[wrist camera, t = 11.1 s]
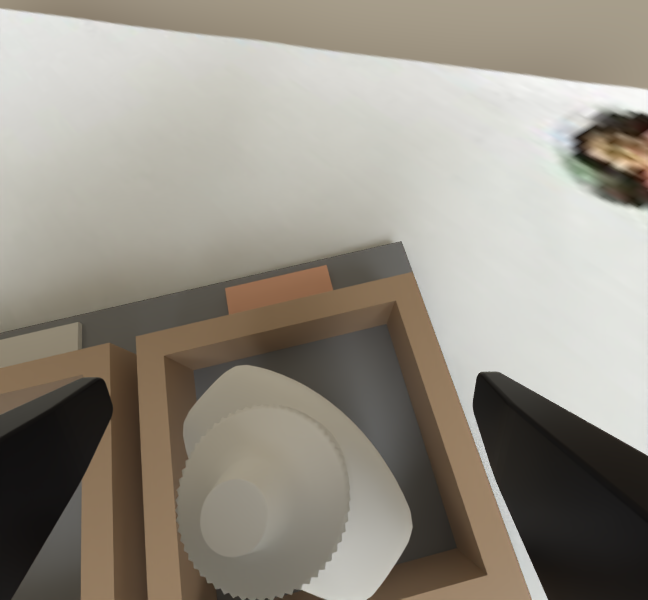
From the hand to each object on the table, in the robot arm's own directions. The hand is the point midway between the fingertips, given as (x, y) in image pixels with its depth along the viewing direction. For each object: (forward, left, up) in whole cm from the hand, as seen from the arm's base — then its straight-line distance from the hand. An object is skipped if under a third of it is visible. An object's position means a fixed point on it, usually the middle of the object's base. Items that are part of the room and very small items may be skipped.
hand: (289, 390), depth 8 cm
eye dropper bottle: (-1, +1, -8) cm, 8 cm away
